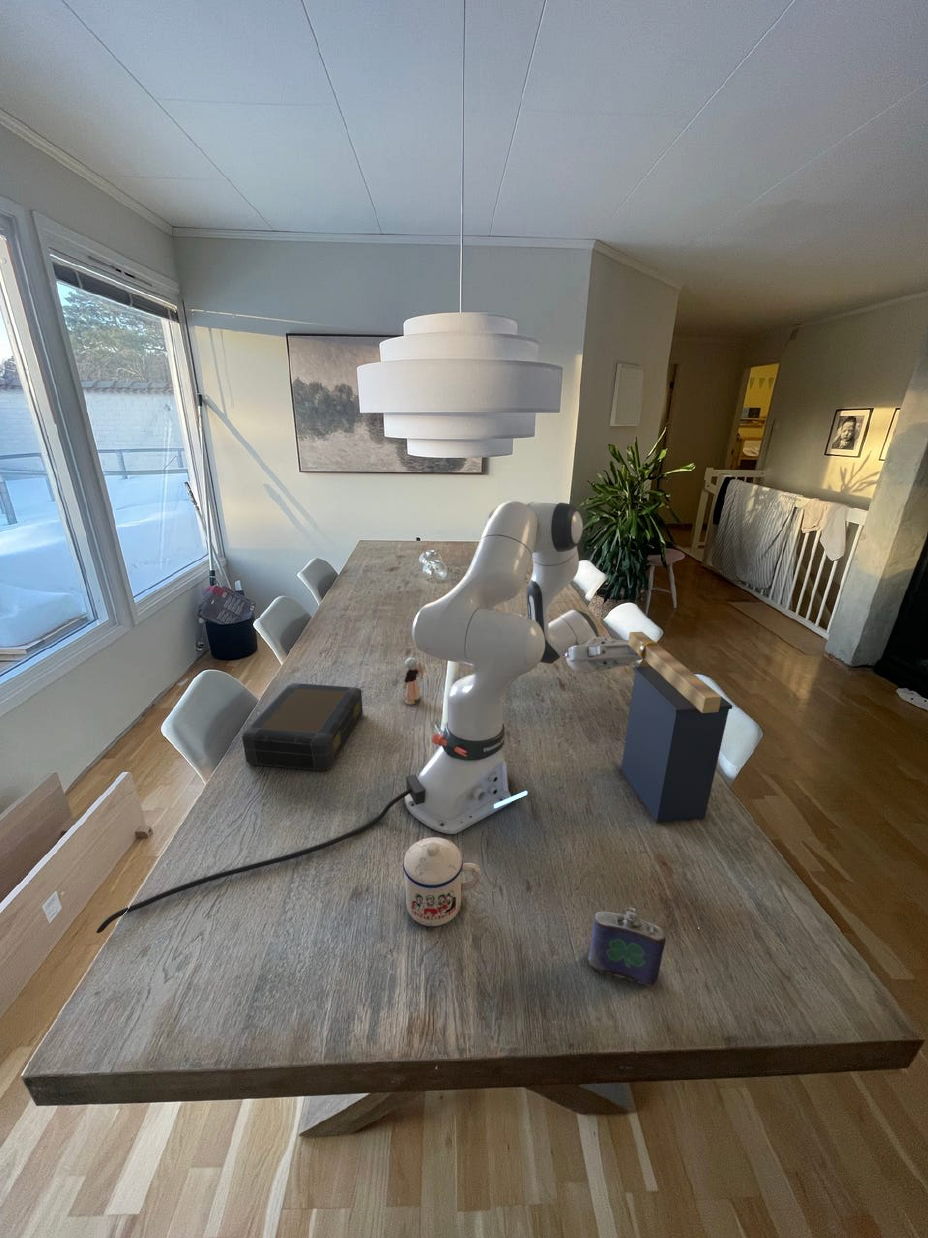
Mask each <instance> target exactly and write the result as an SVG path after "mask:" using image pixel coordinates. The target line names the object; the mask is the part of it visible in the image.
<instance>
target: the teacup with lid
mask: <svg viewBox="0 0 928 1238" xmlns="http://www.w3.org/2000/svg"><path fill="white" fill-rule="evenodd" d="M402 861H403V862H402V868H403V869H402V870H403V872H404V879H405V882H404V883H405V902H406V904H405V905H406V909H407V912H408V914H409V916H410V917H411V918H412V920H414V921H415V922H417V923H418V924H420V925H423V926H426V927H437V926H442V925H445V924H447V923H449V922H451V921H452V920H453V919H454V918H455V917H456V916H457V914H458V912H459V911H460V908H461V904H462V892H468V891H471V890H473V889H475V888H476V887H477V886H478V885H479V884H480V882H481V879H482V870H481V868H480V866H479V865H477V864H476V863H473V862H464V859H463V855H462V852H461V851H460V849H459V847H458V846H456V844H455V843H453V841H450V840H448V839H446V838H443V837H434V836H432V837H426V838H422V839H420V840H418V841H416V842H415V843H413V844H412V845H411V846H410V847H409V848H408V849H407V851H406V853H405V854H404V857H403V860H402ZM463 872H473V873H475V876H474V877H473V879H472V880H470V881H468V882H467V881H466V882H463V883H462V873H463Z"/></svg>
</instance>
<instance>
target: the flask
mask: <svg viewBox="0 0 928 1238" xmlns="http://www.w3.org/2000/svg"><path fill="white" fill-rule="evenodd" d="M625 910H627V911H626V914H624V913H619V912H612V911H597V912H596V913H595V914H594V917H593V924H592V934H591V940H590V946H589V952H588V958H587V959H588V964H589V967H591V968H593V970H596V971H597V972H599V973H602V974H604V973H607V974H610V975H612V976H613V977H616V978H619V979H624V978H627V979H628V980H629V981H631V982H632V981H636V982H637V983H638V984H642V985H644V986H647V987H652V986H654V985H657V980H658V977H659V973H660V967H661V964H662V959H663V953H664V950H665V944H666V941H667V938H666V934H665V932H664V930H663V928H661V927H660V926H659V925H657V924H654V923H651V922H649V921H647V920H645V919H642V918H640V917H639V916H637V914H636V912H637V910H636V909H635V908H634V907H632V906H631V907H625Z"/></svg>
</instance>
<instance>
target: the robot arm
mask: <svg viewBox="0 0 928 1238" xmlns="http://www.w3.org/2000/svg"><path fill="white" fill-rule="evenodd" d="M484 525H485V527H484V530H483V532H482V534H481V537H480V540H479V542H478V545H477V547H476V550H475V553H474V555H473V557H472V560H471V562H470V565H469V566H468V569H467V571H466V573H464V574H465V575H464V576H463V577H462V579H461V580H460V581H459V582H458V583H457V585H456V584H455V586H454V587H453V588H452V589H450V591H449V592H447V593H446V594H445V595H443V596H442V597H440V598H438V599H436V600H434V601H432V602H428V603H426V604H425V605H424V606H422V607H421V608H419V609H420V610H418V612H417V613H416V615H415V616H414V619H413V622H412V625H411V627H412V628H411V635H412V639H413V642H414V644H415V646H416V647H417V649H418V650H419V651H420V652H422V653H425V654H426V655H429V656H431V657H434V658H436V659H439V660H443V661H448V662H452V663H458V664H463V665H467V666H469V667H472V668H473V669H474V673H472V674H469V675H466V676H463V677H461V678H459V679H458V680H456V681H455V682H454V683H452V685H451V686H450V688H449V690H448V693H447V721H446V723H445V727H444V730H443V733H442V735H441V734H440V733H438V732H436V733H434V734H433V736H432V738H431V742H432V743H433V744H435V745H437V746H439V747H438V748H437V749H436V750H435V752H434V753H433V755H432V756H431V757H430V759H428V761H427V763H426V764H425V765H424V767H423V768H422V770H421V771H420V773H419V774H418V777H417V775H416V774H415V773H414V774H410V775H406V777H405V780H406V781H405V783H406V790H405V791H403V792H401V793H400V794H398V795H397V796H395V797H394V798H393V799H392V800H390V801H389V802H388V803H387V804H386V806H385V807H384V809H383V810H382V811H381V813H380V814H378V815H377V816H376V817H375V818H373V819H372V820H371V821H368V822H367V823H366V824H364V825H362V826H360V827H358V828H355V829H353V830H351V831H348V832H347V833H344V834H342V835H340V836H338V837H335V838H333V839H329V840H328V841H326V842H322V843H319V844H317V845H314V846H311V847H308V848H304V849H302V850H299V851H296V852H292V853H288V854H285V855H280V856H277V857H274V858H270V859H265V860H261V861H258V862H254V863H251V864H247V865H244V866H239V867H236V868H232V869H228V870H224V871H222V872H218V873H215V874H214V873H213V874H211V875H207V876H205V877H201V878H199V879H196V880H192V881H189V882H187V883H183V884H181V885H179V886H176V887H173V888H170V889H168V890H165V891H163V892H160V893H158V894H156V895H153V896H151V897H149V898H147V899H143V900H142V901H140V902H137V903H135V904H132V905H130V908H129V909H128V907H129V906H127V907H124V908H122V909H119V910H118V911H116V912H115V913H113V914H111V915H110V916H108V917H107V918H106V919H105V920H104V921H102V923H101V924H100V925H99V927H98V928H97V930H96V931H95V933H96V934H100V933H102V932H104V931H105V930H106V929H107V927H108V926H109V925H111V923H112V922H114V921H115V920H117V919H118V918H120V917H123V916H124V915H126V914H129V913H131V912H134V911H137V910H139V909H141V908H144V907H147V906H148V905H151V904H153V903H155V902H157V901H159V900H162V899H165V898H167V897H169V896H172V895H174V894H178V893H179V892H180V893H181V892H182V891H186V890H188V889H191V888H193V887H197V886H200V885H203V884H206V883H208V882H212V881H216V880H219V879H223V878H226V877H229V876H233V875H236V874H240V873H245V872H247V871H251V870H255V869H258V868H262V867H266V866H271V865H274V864H278V863H281V862H285V861H288V860H289V861H290V860H293V859H295V858H299V857H302V856H304V855H308V854H310V853H314V852H317V851H319V850H322V849H325V848H328V847H330V846H332V845H335V844H337V843H340V842H342V841H344V840H346V839H348V838H351V837H354V836H356V835H358V834H361V833H362V832H364V831H366V830H367V829H369V828H371V827H373V826H374V825H376V824H377V823H378V822H380V821H381V820H382V819H383V818H384V817H385V816H386V815H387V813H388V812H389V810H390V809H391V808H392V807H393V806H394V805H395V804H396V803H397V802H399V801H400V800H402V799H403V798H404V805H405V807H406V809H407V810H408V812H409V813H410V815H412V816H413V817H414V818H415V819H417V820H418V821H419V822H420V823H422V824H424V825H425V826H427V827H428V828H429V829H432V830H434V831H437V832H439V833H443V834H446V835H447V834H448V835H456V834H458V833H461V832H462V831H464V830H465V829H467V828H469V827H471V826H472V825H474V824H476V823H479V822H480V821H482V820H483V819H485V818H487V817H489V816H490V815H493V814H494V813H496V812H498V811H500V810H501V809H504V808H505V807H507V806H509V805H510V804H511V803H512V802H513V801H515V800H517V799H520V798H523V797H524V796H527V795H528V791H527V790H525V791H522V792H520V793H518V794H516V795H511V791H510V790H509V780H508V769H507V768H508V767H507V762H506V758H505V752H504V745H505V739H506V732H505V731H506V730H505V729H506V728H505V724H504V710H505V701H506V697H507V693H508V691H509V690H510V687H511V686H512V684H513V683H514V682H515V681H517V680H518V678H520V677H521V676H523V675H525V674H527V673H530V672H531V671H533V670H534V669H535V668H536V667H537V666H538V665H539V663H543V664H549V665H552V664H554V663H555V662H556V661H558V660H559V659H561V657H563V658H565V660H566V663H567V666H568V667H569V668H570V669H571V670H573V671H574V672H577V673H580V674H592V673H599V672H605V671H608V670H612V669H615V668H618V667H623V666H630V665H631V666H632V665H634V662H638V661H642V660H643V659H642V658H641V657H640V655H639V654H638V653H637V652H636V651H634V650H633V649H632V648H631V647H630V646H629V645H628V641H629V639H615V638H609V637H605V636H599V630H598V628H597V626H596V624H595V622H594V620H593V619H592V617H590V616H589V614H587V613H585V612H583V611H582V610H578V609H573V608H572V609H570V610H568V611H566V612H565V613H563V614H561V615H560V616H558V617H557V618H554V619H553V620H551V621H550V622H549V608H550V606H551V604H552V603H553V601H554V600H555V599H556V598H557V596H558V595H559V594H560V593H561V592H562V591H563V590H564V589H566V587H568V586H569V585H570V584H571V583H572V581H573V580H574V579H575V577H576V576H577V574H578V571H579V567H580V556H579V552H578V545H579V544H580V542H581V540H582V535H583V529H584V524H583V518H582V513H581V511H580V510H579V509H578V508H577V507H576V506H575V505H574V504H571V503H566V502H558V503H555V502H534V501H530V502H529V501H526V502H521V501H516V500H514V501H513V500H511V501H510V500H509V501H505V502H502V503H501V504H500V505H497V506H495V507H493V508H492V509H491V511H490V512H489V513H488V514H487V516H486V519H485V524H484ZM531 561H533V567H532V573H531V577H530V580H529V582H528V584H527V586H526V607H527V617H526V616H524V615H521V614H517V613H516V612H509V611H503V610H496V609H493V608H494V607H496V606H498V605H501V604H503V603H506V602H509V601H511V600H514V599H515V598H516V597H517V596H518V595H519V594H520V592H521V591H522V590H523V588H524V585H525V582H526V581H525V580H526V577H527V574H528V571H529V568H530V566H531V565H530V564H531ZM127 910H128V911H127ZM126 911H127V913H126V914H124V913H125V912H126ZM123 914H124V915H123Z"/></svg>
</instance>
